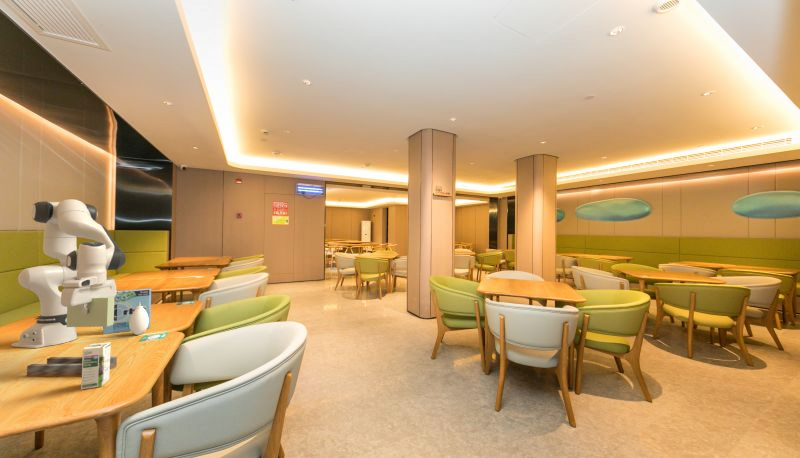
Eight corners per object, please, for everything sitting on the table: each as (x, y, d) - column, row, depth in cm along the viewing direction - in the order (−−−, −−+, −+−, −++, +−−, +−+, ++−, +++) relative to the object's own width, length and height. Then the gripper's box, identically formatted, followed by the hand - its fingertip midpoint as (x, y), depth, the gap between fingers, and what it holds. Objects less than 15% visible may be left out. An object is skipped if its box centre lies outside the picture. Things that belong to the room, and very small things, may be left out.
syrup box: (80, 390, 102) (81, 348, 103) (89, 382, 108) (91, 343, 108) (101, 387, 104) (103, 346, 105) (110, 379, 110) (111, 341, 110)
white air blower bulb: (139, 331, 163) (141, 299, 163) (151, 332, 162) (153, 300, 162) (124, 336, 155) (126, 302, 156) (137, 337, 154) (138, 303, 154)
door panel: (66, 327, 121) (67, 298, 121) (74, 324, 124) (75, 296, 124) (106, 326, 122) (107, 297, 122) (113, 324, 125) (114, 296, 125)
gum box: (150, 326, 172) (151, 288, 173) (148, 328, 168) (150, 289, 169) (104, 332, 162) (106, 291, 162) (102, 334, 157) (103, 292, 158)
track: (26, 376, 111) (27, 365, 112) (50, 366, 119) (51, 357, 119) (97, 375, 113) (97, 365, 113) (116, 366, 121) (116, 356, 121)
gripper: (107, 276, 134) (106, 306, 133) (57, 283, 113) (56, 319, 113) (121, 276, 134) (120, 306, 134) (74, 283, 114) (73, 318, 113)
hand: (90, 312), depth 123 cm, fingers closed on door panel, 3 cm apart
